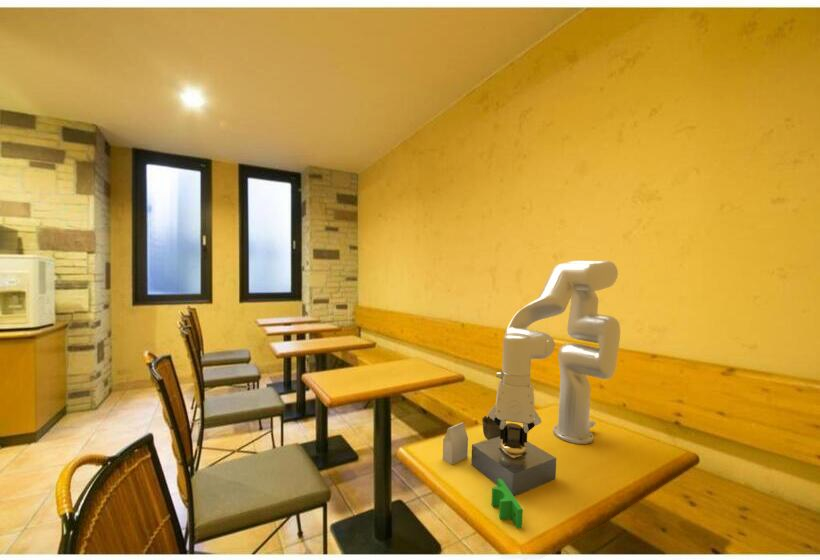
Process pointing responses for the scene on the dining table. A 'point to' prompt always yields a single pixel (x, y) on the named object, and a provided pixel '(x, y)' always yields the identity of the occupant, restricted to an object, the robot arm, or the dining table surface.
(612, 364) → the robot arm
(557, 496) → the dining table surface
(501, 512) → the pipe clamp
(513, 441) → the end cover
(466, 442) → the tan milk carton
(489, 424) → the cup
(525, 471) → the plate
